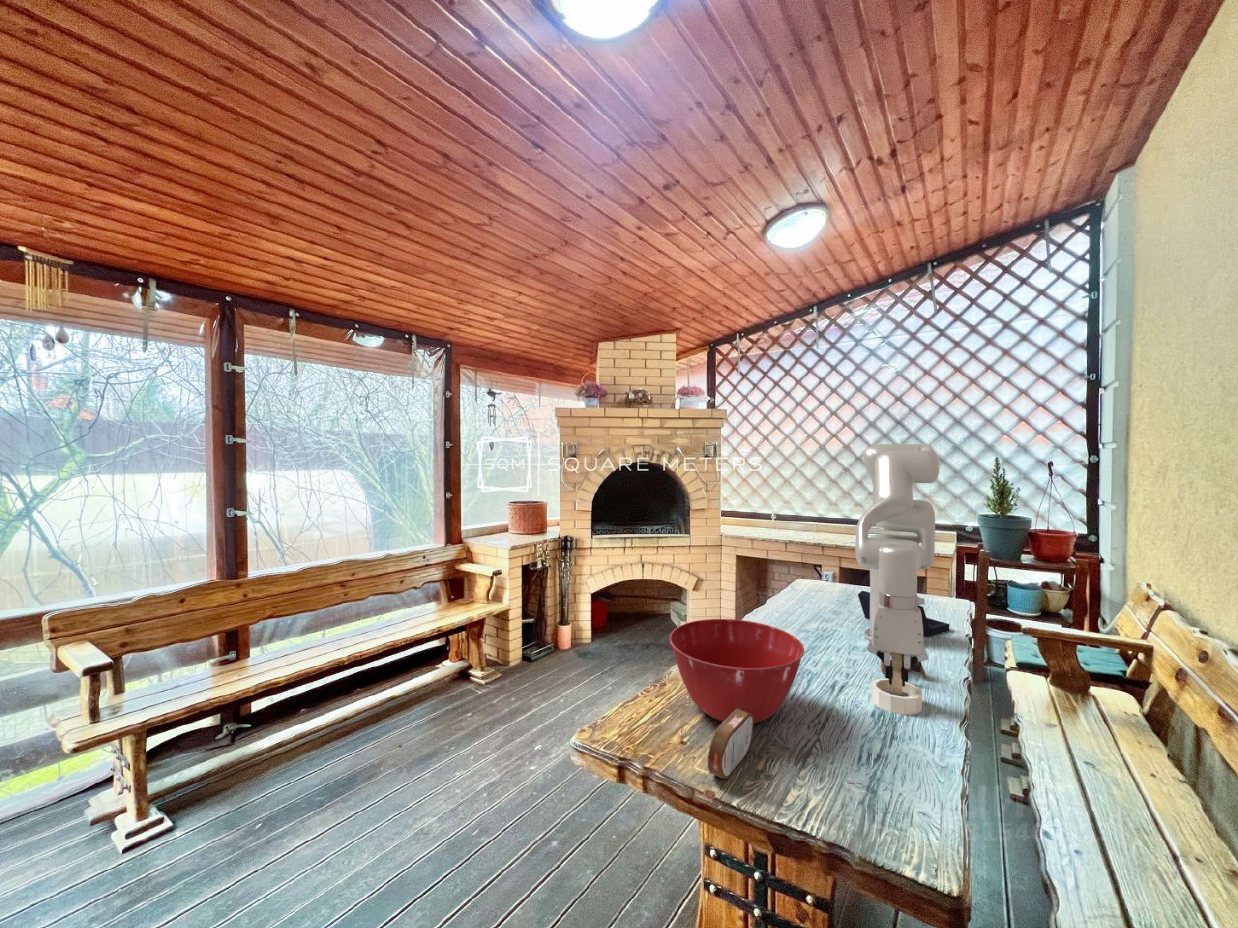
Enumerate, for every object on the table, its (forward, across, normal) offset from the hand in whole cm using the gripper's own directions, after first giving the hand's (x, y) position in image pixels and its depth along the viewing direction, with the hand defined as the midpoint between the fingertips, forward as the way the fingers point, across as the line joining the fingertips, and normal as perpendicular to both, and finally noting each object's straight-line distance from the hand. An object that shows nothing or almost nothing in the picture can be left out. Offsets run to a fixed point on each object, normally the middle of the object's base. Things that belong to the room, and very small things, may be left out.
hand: (896, 682), depth 114 cm
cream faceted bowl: (+5, 0, 0) cm, 5 cm away
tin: (+5, +28, +38) cm, 47 cm away
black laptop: (+5, -5, -60) cm, 60 cm away
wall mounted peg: (+3, 0, +1) cm, 3 cm away
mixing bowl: (+5, +32, +18) cm, 37 cm away
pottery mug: (+6, -3, -19) cm, 20 cm away
